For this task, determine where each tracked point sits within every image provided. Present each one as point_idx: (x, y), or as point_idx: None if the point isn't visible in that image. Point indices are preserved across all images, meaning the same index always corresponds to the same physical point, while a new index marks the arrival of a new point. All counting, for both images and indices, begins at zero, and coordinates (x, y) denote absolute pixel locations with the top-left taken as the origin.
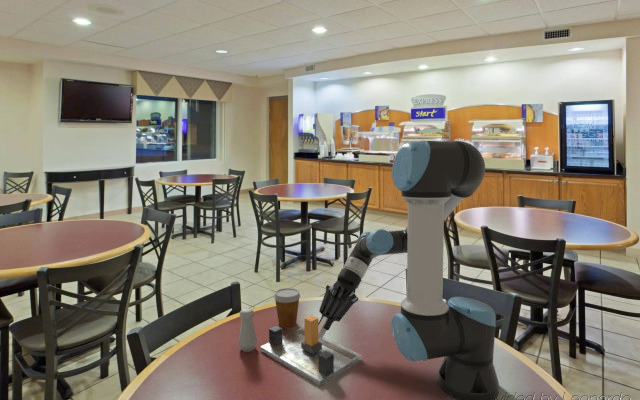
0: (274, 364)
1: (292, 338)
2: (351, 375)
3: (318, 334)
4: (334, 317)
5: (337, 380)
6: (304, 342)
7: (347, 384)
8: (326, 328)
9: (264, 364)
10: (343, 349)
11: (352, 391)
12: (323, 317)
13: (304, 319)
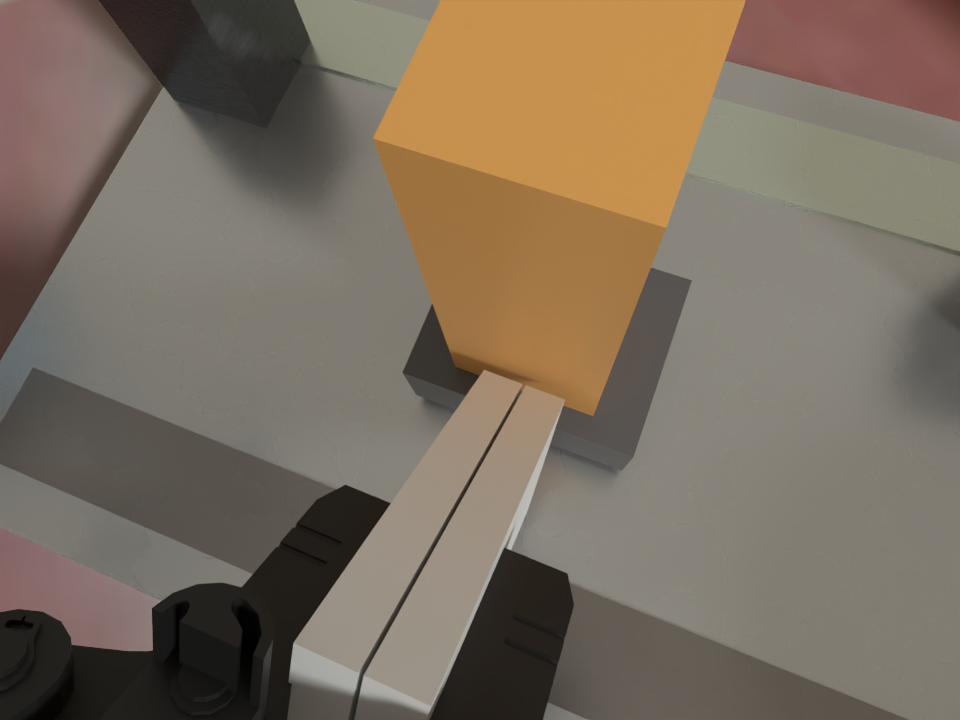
0: (806, 71)
1: (956, 534)
2: (44, 206)
3: (468, 396)
4: (30, 636)
5: (151, 97)
6: (647, 297)
7: (60, 85)
8: (334, 504)
9: (895, 34)
10: (159, 527)
11: (9, 28)
12: (428, 665)
13: (737, 2)
